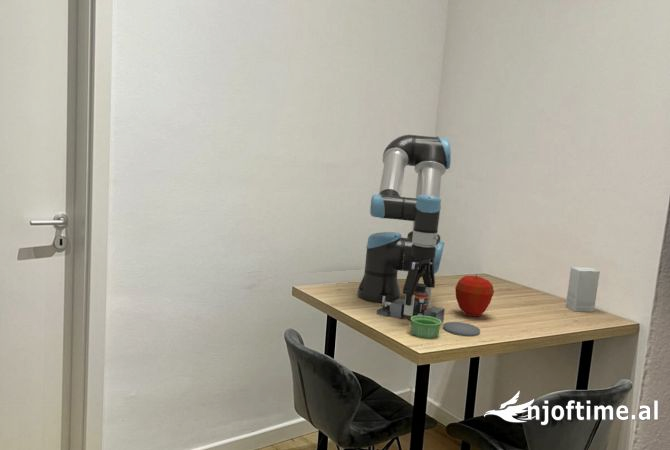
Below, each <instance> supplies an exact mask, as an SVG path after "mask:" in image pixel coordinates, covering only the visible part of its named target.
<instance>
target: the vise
mask: <svg viewBox="0 0 670 450" xmlns="http://www.w3.org/2000/svg"><path fill="white" fill-rule="evenodd" d="M385 298H386V296H383V300H382V302H381V303H382V304H381V308H379V309H377V310H376V315H380V316H384V317H393V318H396V319H399V320H400V319H403V318H406V317H407V315H404V306H405V298H401V297H400V298H399V299H397V300H395V301H392V302H387V301H385ZM445 311H446V309H445V308H444V307H440V306H434V305H432V306H430V307H429V308H428V307H427V309H426V310H424V316H430V317H434V318H437V319H439V320H441V324H444V317H445Z"/></svg>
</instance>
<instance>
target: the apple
mask: <svg viewBox="0 0 670 450" xmlns="http://www.w3.org/2000/svg"><path fill="white" fill-rule="evenodd" d="M493 286H494V285H493V284H492V283H491V282H490V280H488V279H487V278H484V277H481V276H478V275H477V274H475V275H465V276H462V277H461V278H460V279H459V280H458V281H457V283H456V285H455V287H454V288H455V298H456V302H457V305H458V307H459V309H460V310H461V312H463V313H464V314H465V315H468V316H470V317H479V316H481V315H482V314H484V313H485V312H486V310H487V308H488V307H489V305H490V304H491V302H492V299H493V295H494V293H495V290H494V287H493Z"/></svg>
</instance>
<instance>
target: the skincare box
mask: <svg viewBox="0 0 670 450" xmlns="http://www.w3.org/2000/svg"><path fill="white" fill-rule="evenodd" d="M600 273H601V271H600V270H599V269H596V268H593V267H591V266H589V267H587V266H585V267H584V266H582V267H581V266H571V267H570V271H569V280H568V285H567V286H568V288H567V295H566V301H565V308H567V309H569V310H570V311H573V312H575V313H576V312H580V313H581V312H582V313H583V312H584V313H585V312H586V313H587V312H588V313H594V312H595V308H596V300H597V293H598V287H599V279H600Z"/></svg>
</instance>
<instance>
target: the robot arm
mask: <svg viewBox="0 0 670 450" xmlns="http://www.w3.org/2000/svg"><path fill="white" fill-rule="evenodd" d="M451 154H452V151H451V144H450V141H449V139H448V138H446V137H439V136H428V135H427V136H426V135H425V136H424V135H414V134H404V135H401V136H399V137H397V138H396V137H395V139H393V140H392V141H391V142H389V144H388V145H387V146H386V147H385V149H384V150H383V153H382V163H383V167H382V168H383V169H382V175H381V180H380V186H379V190H378V194H373V195H372V196H371V200H370V208H369V212H370V214H369V215H370V216H371V217H373V218H379V219H387V220H399V221H409V222H412V229H411V230H410V231H409V232H408V233H407V237H402V233H400V232H395V231H393V232H392V231H384V232H376V233H375V232H374V233H371V234H370V235H369V236H368V238H367V243H366V247H365V248H366V252H365V253H366V255H365V264H364V273H363V276H362V279H361V281H360V283H359V286H358V288H357V297H359V298H360V299H363V300H365V301H369V302H373V303H374V302H375V303H382V300H383V296H386V298H385V301H387V302H392V301H395V300H397V299H399V298H400V299H401V291H400V286H399V281H398V271H401V272H407V274H406V279H405V282H404V286H403V289H402V294H404V295H405V298H404V299H405V306H404V315H408V316H413V308H414V298H415V295H413V294H414V292H415V289H416V287H417V284H418V283H419V281H420V279H421V278H422V282H423V284H424V285H426V292H427V293H428V301H427V309H428V308H430V307H431V306H430V305H431V296H432V290H433V289H434V288H435V287H436V281H435V280H436V278H435V274H437V273H438V272H439V269H440V265H441V260H442V256H443V251H444V247H445V242H444V241H442V240H441V236H440V234H439V233H438V232H439V231H438V228H439V223H440V222H439V221H440V216H441V215H440V214H441V207H442V203H441V202H442V199H441V198H440V195H441V184H442V182H441V181H442V176H443V175H445V173H446V172H447V170H448V169H450V167H451V160H452V159H451V158H452V157H451ZM407 166H410V167H414V171H415V173H416V174H417V180H416V181H417V182H416V192H415V197H406V196H402V191H403V184H404V183H403V182H404V176H405V169H406V167H407ZM432 288H433V289H432Z"/></svg>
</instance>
